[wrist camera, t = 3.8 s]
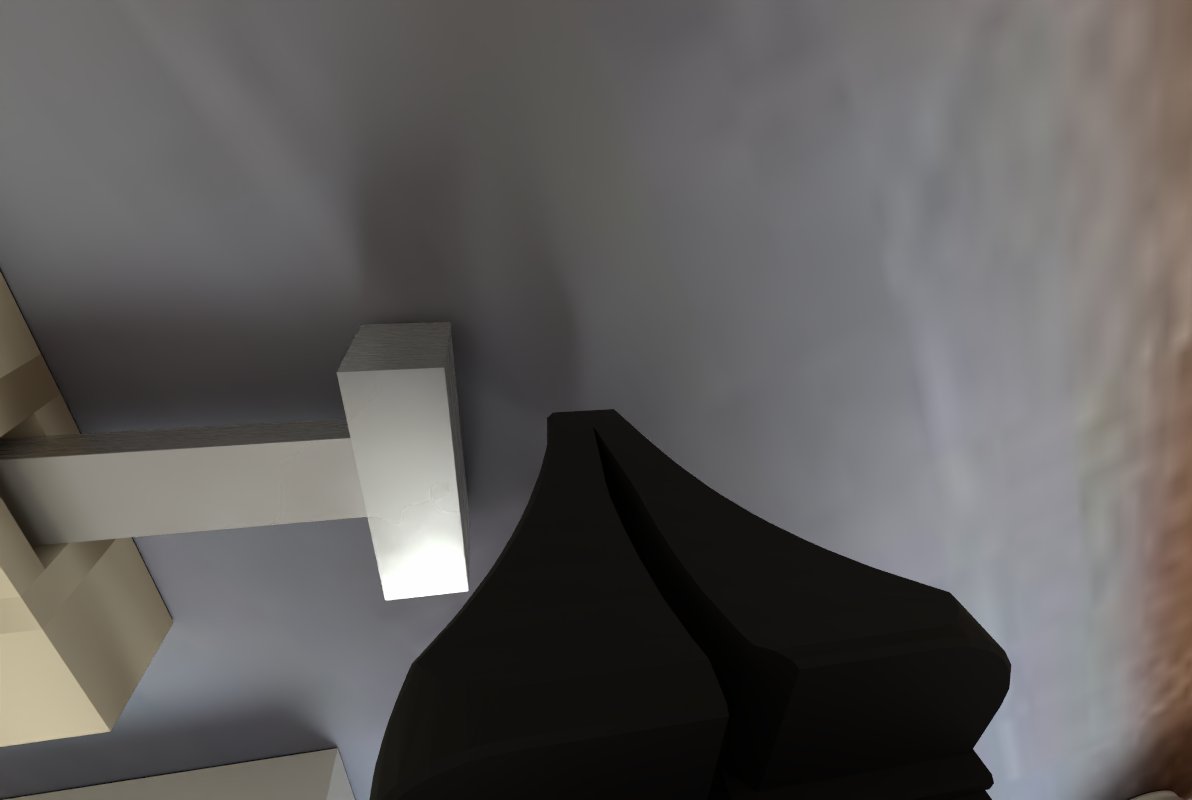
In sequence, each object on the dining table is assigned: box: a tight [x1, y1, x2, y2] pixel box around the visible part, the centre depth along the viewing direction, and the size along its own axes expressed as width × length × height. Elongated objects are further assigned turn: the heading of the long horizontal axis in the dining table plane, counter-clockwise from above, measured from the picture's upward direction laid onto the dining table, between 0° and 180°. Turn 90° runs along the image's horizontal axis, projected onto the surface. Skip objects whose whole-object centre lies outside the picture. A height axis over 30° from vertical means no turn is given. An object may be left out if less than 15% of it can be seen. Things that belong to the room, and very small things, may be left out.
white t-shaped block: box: [0, 322, 470, 600], centre depth 10 cm, size 8×5×2 cm, turn 88°
